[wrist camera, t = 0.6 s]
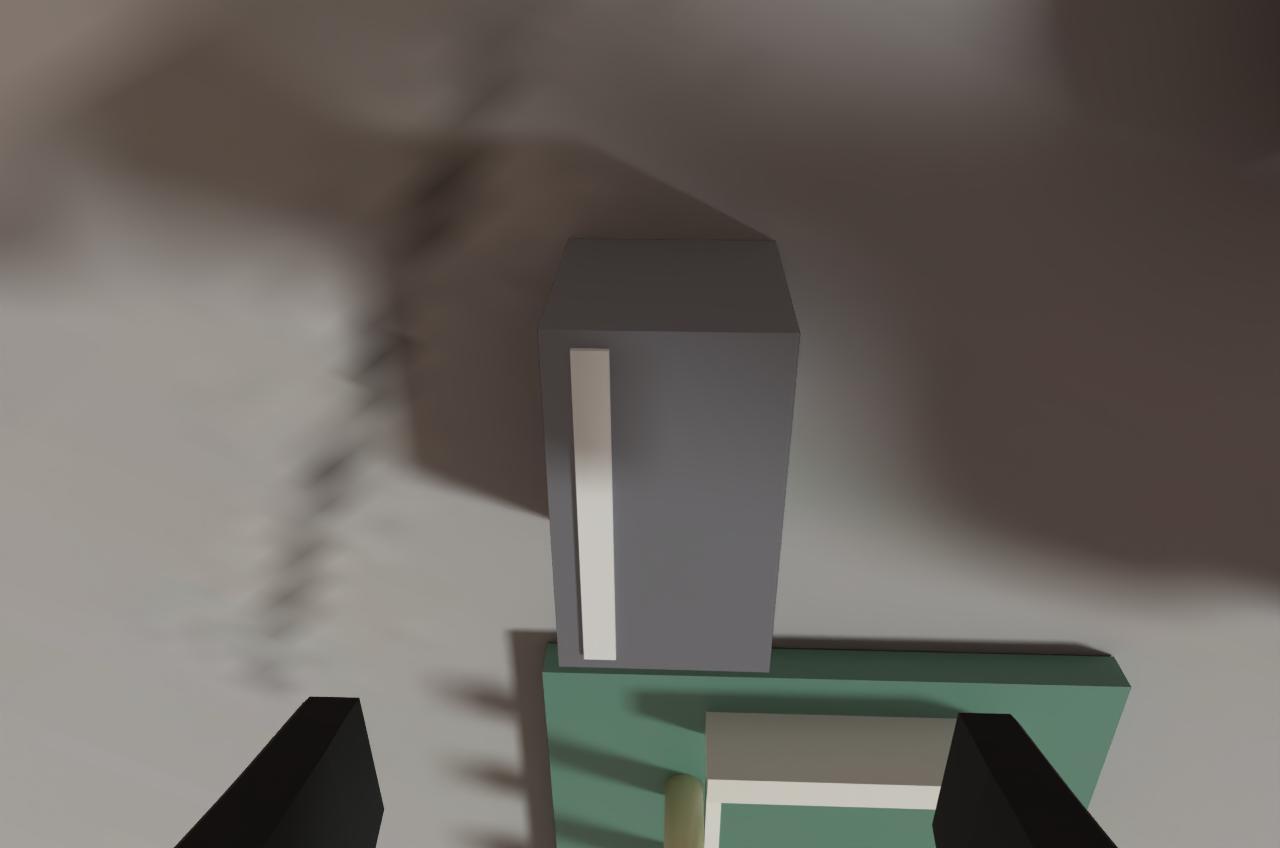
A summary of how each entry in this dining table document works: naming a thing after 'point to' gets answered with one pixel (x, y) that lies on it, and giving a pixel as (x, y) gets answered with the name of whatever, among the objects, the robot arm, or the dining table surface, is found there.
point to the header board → (802, 744)
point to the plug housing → (667, 450)
